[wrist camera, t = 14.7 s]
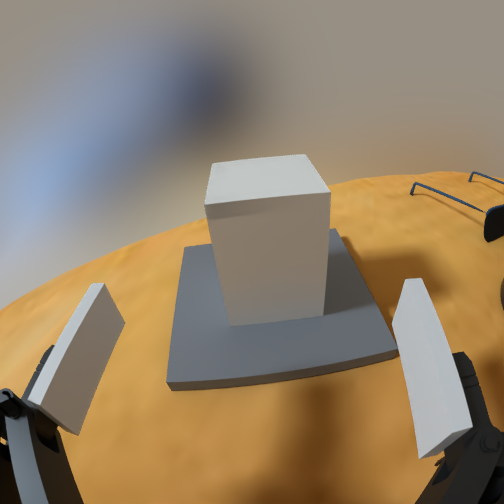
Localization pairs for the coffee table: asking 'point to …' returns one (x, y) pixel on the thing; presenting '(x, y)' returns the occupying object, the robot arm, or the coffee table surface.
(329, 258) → the post dock
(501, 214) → the sunglasses
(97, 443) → the coffee table surface
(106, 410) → the coffee table surface
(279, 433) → the coffee table surface
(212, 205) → the white rectangular box
